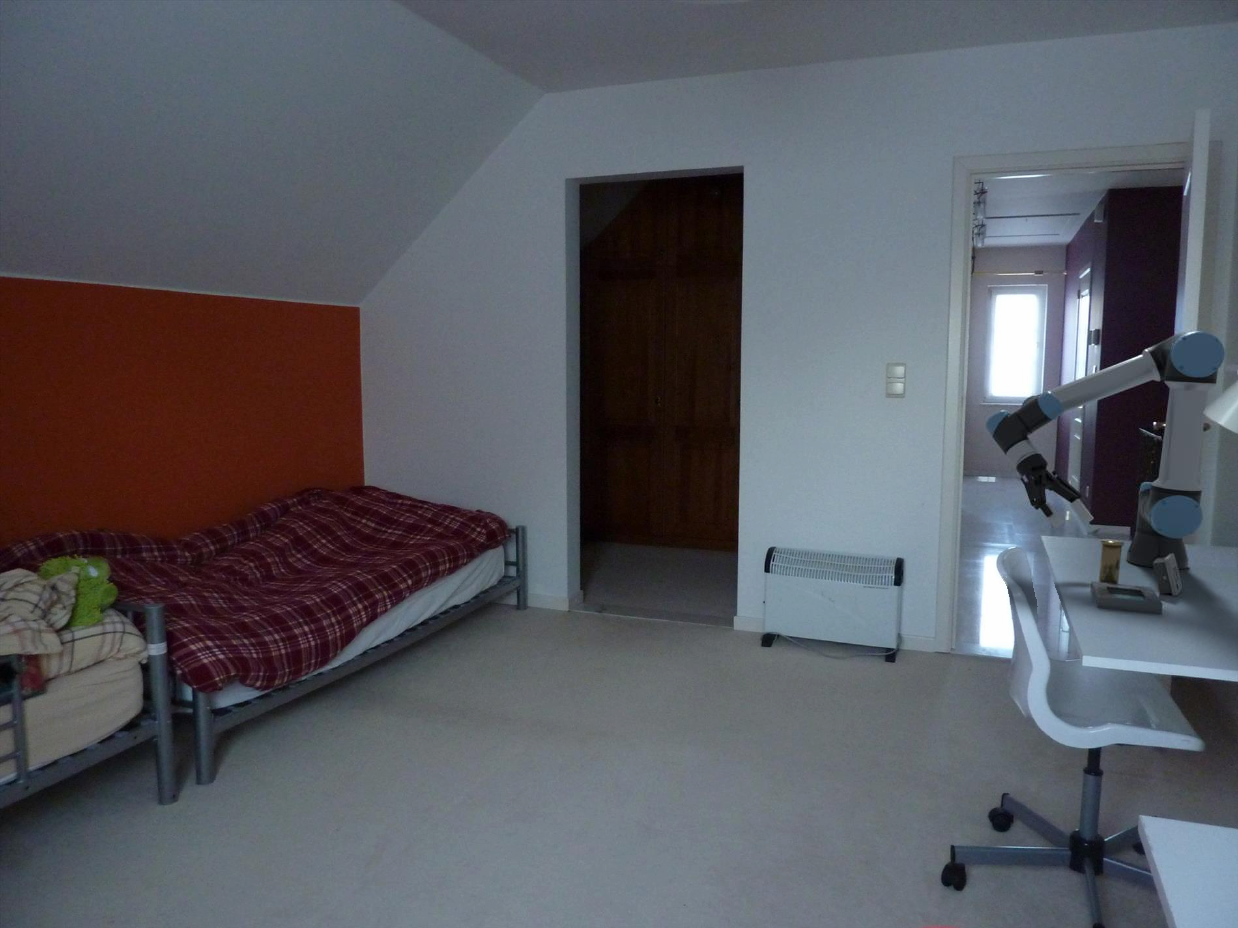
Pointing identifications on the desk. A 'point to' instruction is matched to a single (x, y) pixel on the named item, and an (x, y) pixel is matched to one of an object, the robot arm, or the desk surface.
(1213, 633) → the desk surface
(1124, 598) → the rack plate
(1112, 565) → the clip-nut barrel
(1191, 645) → the desk surface
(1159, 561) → the electrical switch
